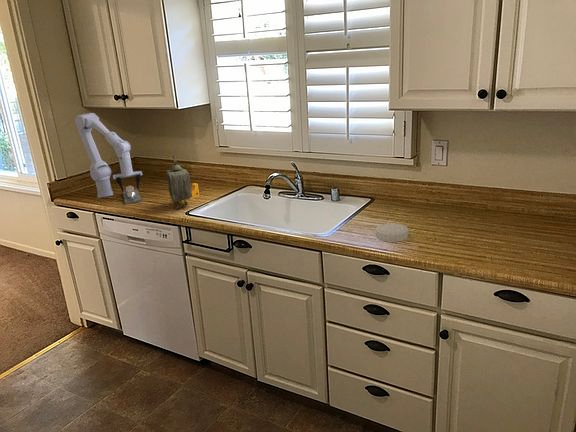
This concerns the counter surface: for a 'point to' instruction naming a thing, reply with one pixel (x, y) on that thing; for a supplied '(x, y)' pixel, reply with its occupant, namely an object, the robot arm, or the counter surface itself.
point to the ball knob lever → (130, 191)
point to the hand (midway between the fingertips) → (130, 190)
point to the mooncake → (391, 232)
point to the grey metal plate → (132, 200)
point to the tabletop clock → (179, 183)
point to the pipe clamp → (194, 191)
